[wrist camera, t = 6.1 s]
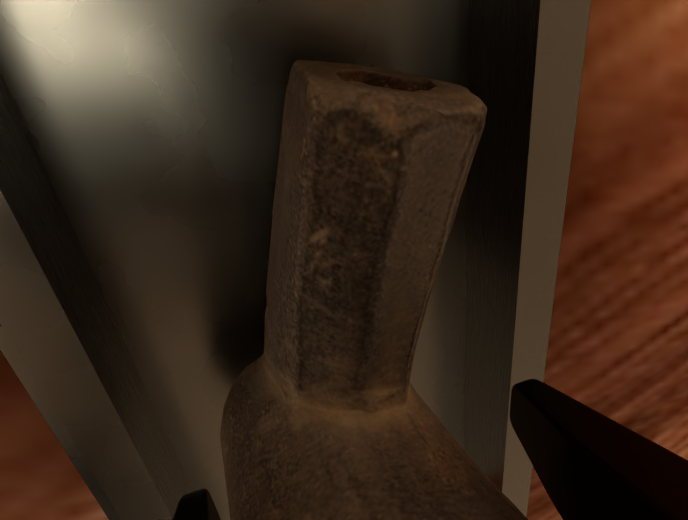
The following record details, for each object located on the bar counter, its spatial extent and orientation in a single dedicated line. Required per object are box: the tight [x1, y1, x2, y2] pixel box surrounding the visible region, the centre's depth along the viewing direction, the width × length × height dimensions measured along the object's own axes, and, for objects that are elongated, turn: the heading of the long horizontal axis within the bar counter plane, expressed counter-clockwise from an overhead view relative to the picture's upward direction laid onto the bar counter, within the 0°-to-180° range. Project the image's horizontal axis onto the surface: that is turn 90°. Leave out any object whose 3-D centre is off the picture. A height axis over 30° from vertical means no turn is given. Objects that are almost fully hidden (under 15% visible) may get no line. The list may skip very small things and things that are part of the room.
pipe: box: [220, 60, 528, 520], centre depth 10 cm, size 6×13×8 cm, turn 171°
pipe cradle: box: [0, 0, 591, 520], centre depth 13 cm, size 22×14×5 cm, turn 7°
